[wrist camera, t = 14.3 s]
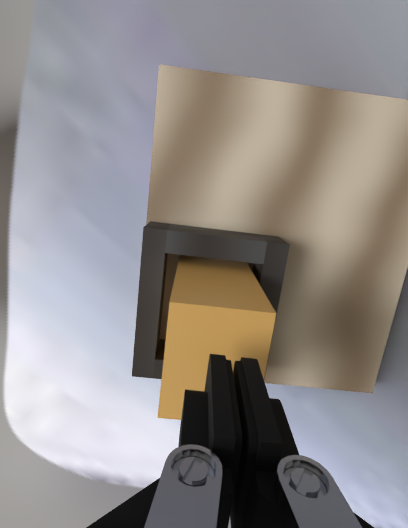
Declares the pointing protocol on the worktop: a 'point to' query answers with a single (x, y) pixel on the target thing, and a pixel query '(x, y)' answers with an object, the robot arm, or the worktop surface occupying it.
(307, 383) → the board
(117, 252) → the worktop surface
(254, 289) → the plug
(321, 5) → the worktop surface
